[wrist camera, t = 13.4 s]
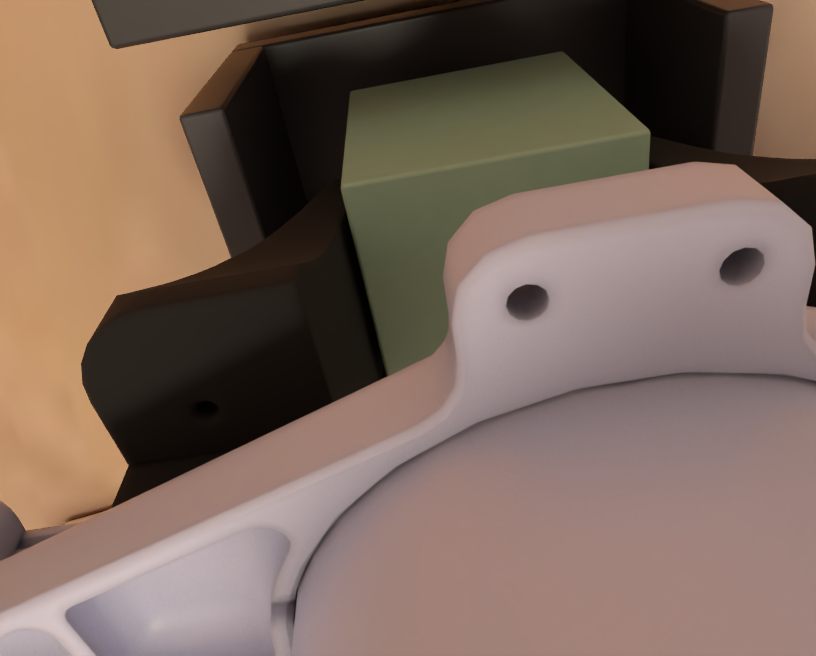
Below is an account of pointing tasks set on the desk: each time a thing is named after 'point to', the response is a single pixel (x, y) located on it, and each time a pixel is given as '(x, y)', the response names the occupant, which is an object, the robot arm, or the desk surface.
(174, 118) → the desk surface
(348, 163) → the block
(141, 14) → the black drawer
